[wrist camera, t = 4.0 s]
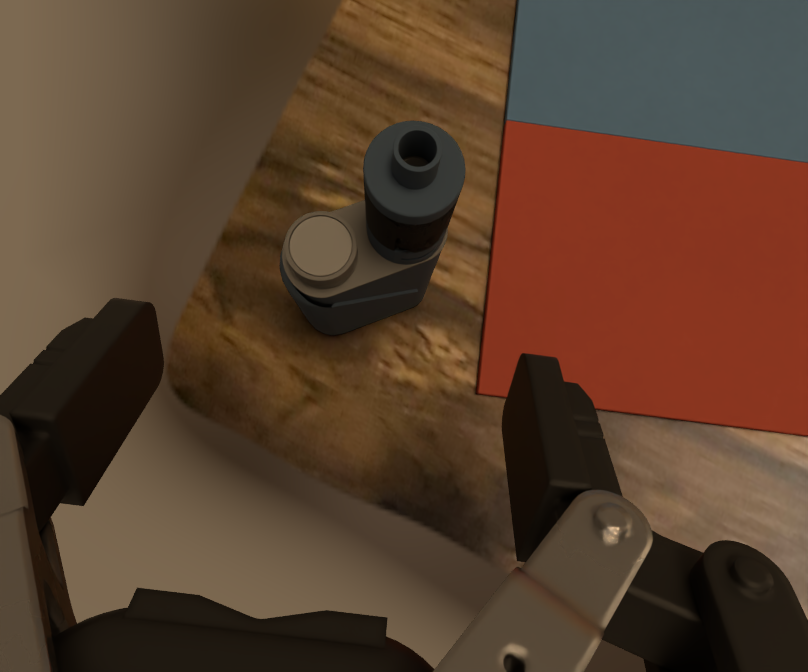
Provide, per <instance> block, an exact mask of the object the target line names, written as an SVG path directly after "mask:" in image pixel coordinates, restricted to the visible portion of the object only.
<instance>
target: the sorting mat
mask: <svg viewBox="0 0 808 672" xmlns="http://www.w3.org/2000/svg"><path fill="white" fill-rule="evenodd" d="M504 124H505V125H504V131H503V140H502V150H501V160H500V169H499V179H498V188H497V198H496V207H495V217H494V227H493V236H492V246H491V255H490V265H489V274H488V284H487V294H486V303H485V313H484V322H483V332H482V341H481V351H480V360H479V370H478V380H477V389H476V394H480V395H488V396H496V397H504V398H507V395H508V392H509V388H510V385H511V382H512V379H513V376H514V372H515V369H516V366H517V363H518V360H519V357H520V355H521V354H522V353H528V354H535V355H543V356H550V357H556V358H557V359H558V361H559V364H560V368H561V372H562V376H563V379H564V382H572V383H578V384H579V385H580V386H581V388H582V389H583V390H584V391H585V392H586V394H587V395H588V396H589V397H590V398H591V400H592V401H593V404H594V407H595V409H598V410H605V411H613V412H621V413H629V414H637V415H644V416H652V417H660V418H668V419H676V420H683V421H691V422H699V423H707V424H715V425H722V426H730V427H738V428H746V429H754V430H761V431H769V432H777V433H785V434H793V435H800V436H808V0H517V6H516V16H515V26H514V35H513V45H512V54H511V64H510V73H509V83H508V93H507V102H506V112H505V121H504Z"/></svg>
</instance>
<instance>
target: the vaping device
mask: <svg viewBox="0 0 808 672" xmlns="http://www.w3.org/2000/svg"><path fill="white" fill-rule="evenodd" d="M363 172H364V191H365V200H364V201H361V202H358V203H355V204H352V205H349V206H347V207H344V208H341V209H338V210H335V211H332V212H325V211H317V212H312V213H308V214H306V215H303V216H302V217H300V218H299V219H297V220H296V221H295V222H294V223H293V224H292V226H291V227H290V228H289V230H288V232H287V234H286V238H285V241H284V244H283V249H282V252H281V256H280V272H281V276H282V280H283V282H284V284H285V286H286V288H287V290H288V292H289V293H290V295H291V296H292V297H293V299H294V300H295V302H296V303H297V305H298V306H299V308H300V309H301V311H302V312H303V314H304V315H305V317H306V318H307V320H308V321H309V322H310V323H311V325H312V326H313V327H314V328H315V329H317V330H318V331H320V332H322V333H324V334H329V335H337V334H343V333H346V332H349V331H352V330H354V329H357V328H360V327H362V326H365V325H367V324H370V323H373V322H375V321H378V320H381V319H383V318H386V317H389V316H391V315H394V314H397V313H399V312H402V311H405V310H407V309H410V308H413V307H415V306H416V305H418V304H419V303H420V302H421V301H422V299H423V297H424V294H425V291H426V289H427V286H428V283H429V281H430V278H431V275H432V273H433V270H434V268H435V266H436V263H437V261H438V258H439V255H440V253H441V250H442V248H443V247H444V245H445V242H446V239H447V233H448V225H449V222H450V219H451V217H452V214H453V211H454V208H455V206H456V203H457V200H458V197H459V195H460V192H461V189H462V187H463V183H464V179H465V162H464V158H463V155H462V152H461V150H460V148H459V146H458V144H457V143H456V142H455V140H454V139H453V138H452V137H451V136H450V135H449V134H448V133H447V132H445V131H444V130H442V129H441V128H439V127H437V126H435V125H433V124H430V123H426V122H422V121H404V122H400V123H396V124H394V125H392V126H389V127H387V128H386V129H384V130H383V131H381V132H380V133H379V134H378V135H377V136H376V137H375V138H374V140H373V141H372V142H371V144H370V145H369V147H368V149H367V152H366V155H365V159H364V167H363Z"/></svg>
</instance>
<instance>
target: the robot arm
mask: <svg viewBox="0 0 808 672" xmlns="http://www.w3.org/2000/svg"><path fill="white" fill-rule="evenodd" d="M163 367H164V358H163V352H162V346H161V340H160V335H159V328H158V322H157V317H156V311H155V308H154V306H153V304H151V303H150V302H142V301H134V300H127V299H119V298H113V299H111V300H110V301H109V302H108V303H107V304H106V305H105V306H104V307H103V309H102V310H101V311H100V312H99V313H98V314H97V315H96V316H95V317H94V318H93V319H92V318H83V319H82V320H80V321H78V322H76V323H75V324H73V325H71V326H69V327H67V328H65V329H64V330H62V331H61V332H60V333H59V334H58V335H57V336H56V337H55V338H54V339H53V340H52V341H51V343H50V344H48V346H47V347H46V350H43V351H42V352H41V353H40V354H39V355H38V356H37V357H36V358H35V359H34V363H33V364H30V365H29V366H28V367H27V368H26V369H25V370H24V371H23V372H22V373H21V374H20V375H19V376H18V377H17V378H16V379H15V380H14V381H13V382H12V384H11V385H10V386H9V387H8V388H7V389H6V390H5V391H4V392H3V393H2V394H1V395H0V672H584V670H585V669H586V667H587V665H588V663H589V661H590V660H591V658H592V656H593V654H594V652H595V651H596V648H597V647H598V645H599V643H600V641H601V639H602V640H604V641H606V642H609V643H611V644H613V645H615V646H617V647H619V648H622V649H624V650H626V651H628V652H630V653H633V654H635V655H637V656H639V657H641V658H643V659H644V663H645V668H646V672H808V620H807V618H806V616H805V613H804V611H803V609H802V607H801V605H800V603H799V601H798V598H797V596H796V594H795V592H794V590H793V588H792V586H791V584H790V582H789V580H788V579H787V577H786V576H785V575H784V573H783V572H782V571H781V570H780V569H779V567H778V566H777V565H776V564H775V563H774V562H772V561H771V560H770V559H769V558H768V557H766V556H765V555H764V554H762V553H761V552H759V551H757V550H756V549H754V548H752V547H750V546H748V545H745V544H742V543H739V542H735V541H728V540H725V541H718V542H714V543H713V544H711V545H710V546H709V547H708V548H707V549H706V550H705V552H704V553H702V552H700V551H697V550H695V549H692V548H690V547H687V546H685V545H682V544H680V543H678V542H675V541H673V540H670V539H668V538H665V537H663V536H661V535H659V534H657V533H656V532H654V531H652V530H651V527H650V524H649V522H648V520H647V519H646V517H645V516H644V514H643V513H642V512H641V511H640V510H639V509H638V508H637V507H636V506H635V505H634V504H633V503H631V502H630V501H628V500H627V499H625V498H623V496H622V493H621V490H620V486H619V483H618V480H617V477H616V474H615V471H614V467H613V464H612V461H611V458H610V455H609V451H608V448H607V445H606V442H605V439H603V432H602V429H601V426H600V423H598V416H597V413H596V410H595V407H594V404H593V401H592V400H591V398H590V397H589V396H588V395H587V394H586V392H585V391H584V390H583V389H582V388H581V386H580V385H579V384H578V383H572V382H564V379H563V376H562V372H561V368H560V364H559V361H558V359H557V358H556V357H550V356H543V355H535V354H528V353H522V354H521V355H520V357H519V360H518V363H517V366H516V369H515V372H514V376H513V379H512V382H511V385H510V388H509V392H508V395H507V398H506V401H505V405H504V410H503V416H502V435H503V444H504V453H505V461H506V470H507V479H508V487H509V496H510V504H511V513H512V522H513V530H514V539H515V548H516V556H517V561H521V562H526V563H525V564H524V565H523V566H522V567H521V568H519V567H516V568H515V569H514V570H513V571H512V572H511V573H510V574H509V575H508V576H507V578H506V579H505V580H504V581H503V583H502V584H501V585H500V587H499V588H498V589H497V590H496V592H495V593H494V594H493V596H492V597H491V598H490V599H489V601H488V602H487V603H486V605H485V606H484V607H483V608H482V610H481V611H480V612H479V613H478V615H477V616H476V617H475V618H474V620H473V621H472V622H471V624H470V625H469V626H468V627H467V629H466V630H465V631H464V633H463V634H462V635H461V636H460V638H459V639H458V640H457V641H456V643H455V644H454V645H453V647H452V648H451V649H450V650H449V652H448V653H447V654H446V656H445V657H444V658H443V659H442V661H441V662H440V663H439V664H438V666H437V667H436V668H435V669H434V668H432V667H431V666H430V665H429V664H428V663H427V662H426V661H425V660H424V659H423V658H422V657H421V656H419V655H418V654H417V653H415V652H414V651H413V650H411V649H410V648H408V647H406V646H405V645H403V644H401V643H399V642H398V641H396V640H393V639H391V638H388V637H386V627H387V618H386V617H378V616H369V615H360V614H353V613H344V612H336V611H327V610H326V611H318V612H311V613H304V614H297V615H290V616H283V617H275V618H268V619H256V618H253V617H250V616H248V615H245V614H243V613H241V612H238V611H236V610H234V609H231V608H229V607H226V606H224V605H222V604H219V603H217V602H214V601H212V600H210V599H207V598H205V597H202V596H200V595H194V594H185V593H177V592H168V591H160V590H151V589H143V588H137V589H136V591H135V593H134V596H133V598H132V600H131V602H130V604H129V606H128V608H123V609H118V610H114V611H110V612H106V613H103V614H100V615H97V616H94V617H91V618H89V619H86V620H84V621H82V622H80V623H78V624H77V622H76V619H75V616H74V614H73V610H72V606H71V603H70V599H69V594H68V590H67V585H66V580H65V576H64V571H63V567H62V562H61V557H60V552H59V548H58V543H57V539H56V534H55V530H54V525H53V522H52V520H51V516H52V514H53V513H54V511H55V510H56V508H57V507H58V505H59V504H60V503H63V504H71V505H79V506H84V505H85V503H86V501H87V500H88V498H89V497H90V495H91V493H92V491H93V490H94V488H95V487H96V485H97V483H98V482H99V480H100V479H101V477H102V476H103V474H104V472H105V471H106V469H107V467H108V466H109V464H110V463H111V461H112V460H113V458H114V456H115V455H116V453H117V452H118V450H119V448H120V447H121V445H122V443H123V442H124V440H125V439H126V437H127V435H128V433H129V432H130V431H131V429H132V427H133V426H134V424H135V423H136V421H137V419H138V418H139V416H140V415H141V413H142V411H143V410H144V408H145V406H146V405H147V403H148V402H149V400H150V398H151V397H152V395H153V394H154V392H155V390H156V389H157V387H158V385H159V383H160V381H161V377H162V374H163Z"/></svg>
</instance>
